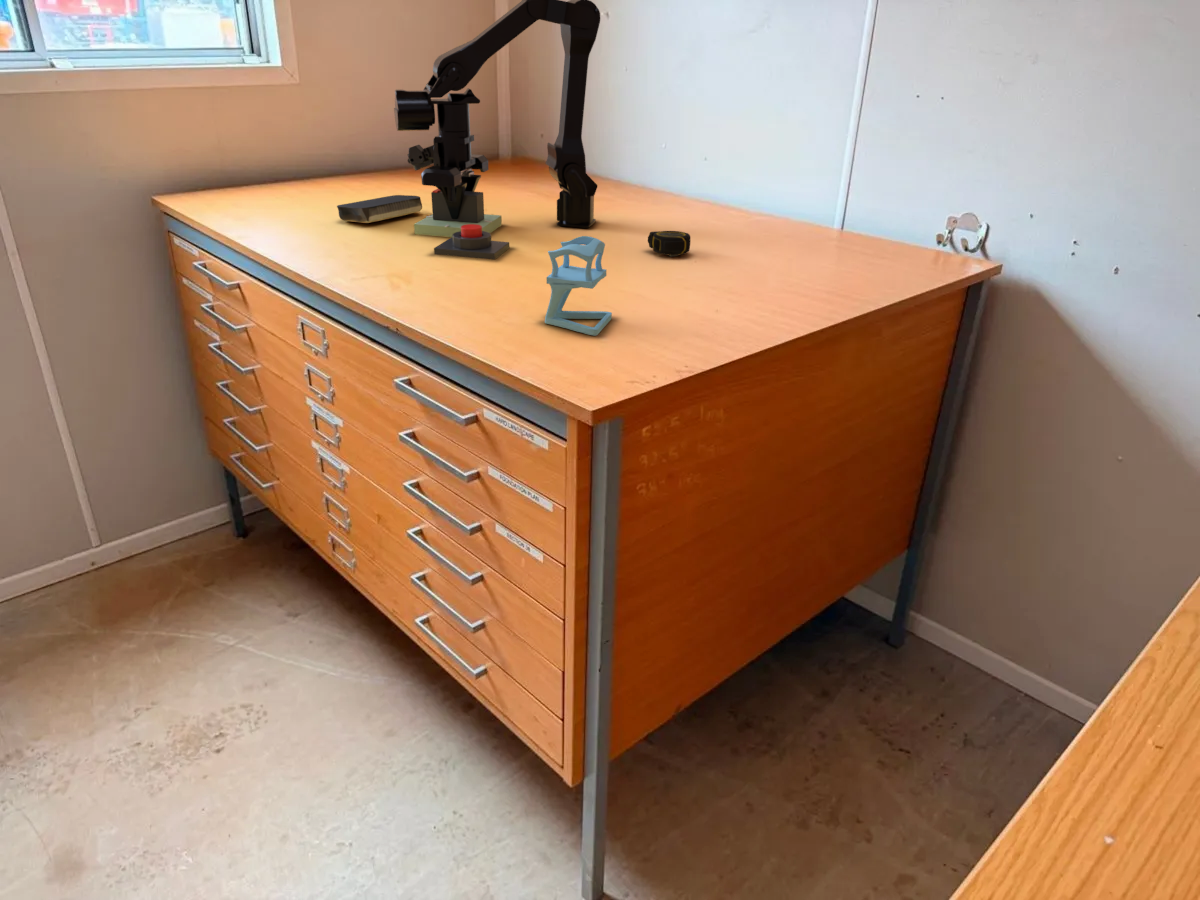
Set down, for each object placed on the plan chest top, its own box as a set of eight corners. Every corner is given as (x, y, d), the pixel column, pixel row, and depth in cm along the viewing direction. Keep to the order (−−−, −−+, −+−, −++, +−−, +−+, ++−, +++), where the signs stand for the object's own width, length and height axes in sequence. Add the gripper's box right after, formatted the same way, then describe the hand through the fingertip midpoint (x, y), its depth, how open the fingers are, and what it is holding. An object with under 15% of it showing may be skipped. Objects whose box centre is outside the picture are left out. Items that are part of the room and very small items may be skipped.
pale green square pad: (503, 225, 171) (503, 213, 170) (479, 241, 159) (479, 229, 158) (440, 219, 173) (439, 208, 172) (412, 235, 162) (411, 223, 161)
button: (485, 235, 153) (484, 225, 152) (477, 239, 150) (477, 229, 149) (465, 233, 153) (465, 223, 153) (458, 238, 150) (457, 228, 150)
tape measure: (683, 248, 158) (685, 228, 156) (694, 258, 152) (695, 237, 150) (647, 249, 157) (648, 228, 155) (656, 259, 151) (657, 238, 149)
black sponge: (363, 228, 165) (361, 209, 164) (334, 221, 170) (332, 202, 168) (427, 214, 177) (425, 196, 175) (398, 208, 182) (397, 190, 180)
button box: (509, 248, 155) (509, 231, 154) (494, 260, 148) (494, 242, 147) (451, 243, 157) (450, 227, 156) (434, 254, 150) (433, 237, 149)
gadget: (484, 219, 166) (483, 190, 164) (477, 223, 163) (476, 194, 161) (440, 215, 168) (438, 187, 165) (432, 219, 165) (431, 191, 162)
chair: (557, 311, 125) (556, 227, 119) (612, 318, 123) (615, 233, 117) (538, 329, 118) (537, 241, 113) (596, 336, 116) (598, 247, 111)
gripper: (433, 121, 168) (438, 203, 175) (390, 134, 152) (398, 224, 159) (487, 124, 166) (490, 207, 173) (450, 137, 149) (455, 229, 157)
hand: (458, 216), depth 165 cm, fingers closed on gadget, 4 cm apart
